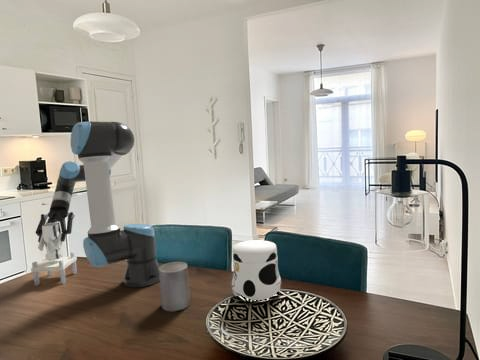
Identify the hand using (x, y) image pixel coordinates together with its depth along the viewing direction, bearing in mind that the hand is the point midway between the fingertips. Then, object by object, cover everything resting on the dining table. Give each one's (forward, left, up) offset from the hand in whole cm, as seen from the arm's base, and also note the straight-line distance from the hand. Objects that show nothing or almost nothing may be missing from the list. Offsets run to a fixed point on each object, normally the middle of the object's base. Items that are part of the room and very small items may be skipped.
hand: (49, 248), depth 146 cm
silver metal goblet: (0, -4, -6) cm, 7 cm away
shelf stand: (0, -4, -14) cm, 15 cm away
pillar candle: (-56, +29, -15) cm, 65 cm away
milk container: (-84, +26, -15) cm, 89 cm away
